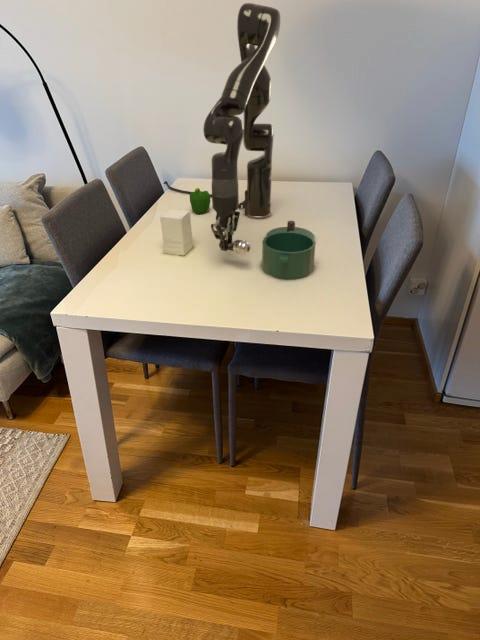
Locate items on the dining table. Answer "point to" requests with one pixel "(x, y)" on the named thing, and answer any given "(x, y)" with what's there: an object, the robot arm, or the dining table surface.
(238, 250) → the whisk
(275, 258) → the pot
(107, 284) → the dining table surface
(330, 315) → the dining table surface
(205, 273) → the dining table surface
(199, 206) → the bell pepper
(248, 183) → the robot arm
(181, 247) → the white packaging box
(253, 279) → the dining table surface
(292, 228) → the lid
